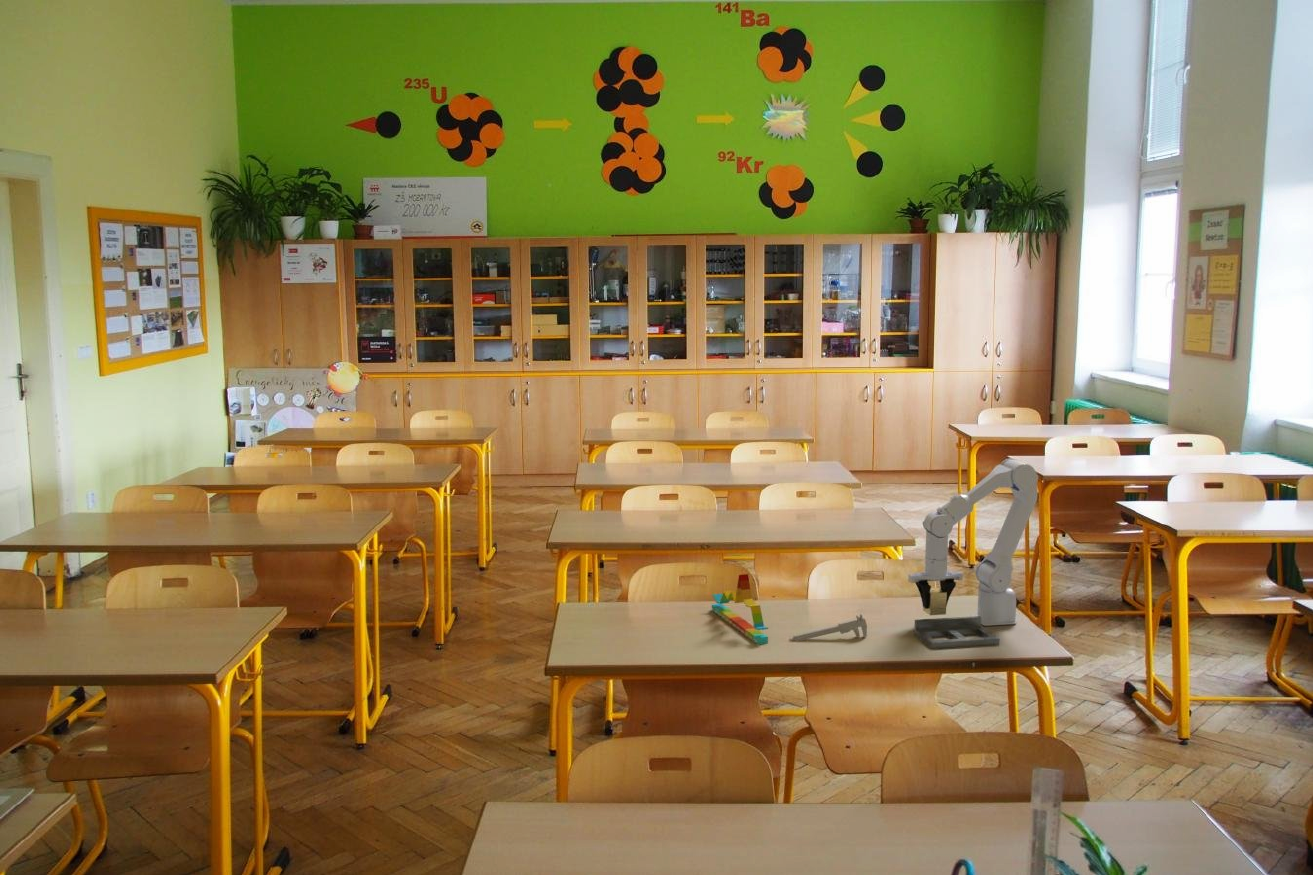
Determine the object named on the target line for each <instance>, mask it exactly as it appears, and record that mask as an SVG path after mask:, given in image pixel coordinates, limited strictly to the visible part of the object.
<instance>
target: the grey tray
mask: <svg viewBox="0 0 1313 875" xmlns="http://www.w3.org/2000/svg"><path fill="white" fill-rule="evenodd" d="M913 628H914V630H913V635H914V636H915V637H916V638H918V639H919V640H920V639H921V642H923V643H924V644H925V643H926V645H927V646H928V647H929V648H931V649H934V650H935V649H948V648H965V647H979V646H980V647H982V646H993V645H994V646H996V645H1000V638H999V637H997V636H996V635H994V634H993V633H992V632H990V631H988V630H987V629H985V628H984V627H982V624H981V617H980V616H972V617H971V616H959V617H941V618H940V617H939V618H923V619H921V618H920V619H914V627H913ZM973 635H977V636H979V637H965V636H973ZM942 637H948V638H949V639H948V638H947V639H937V640H936V639H934V638H942Z"/></svg>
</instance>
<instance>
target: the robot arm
mask: <svg viewBox="0 0 1313 875" xmlns="http://www.w3.org/2000/svg"><path fill="white" fill-rule="evenodd" d="M992 469H993V470H992V471H991V472H989V474H987V475H986V476H985V477H984V478H983V479H982V480H980V481H979V482H978V483H977V484H975V486H973V487H972V488H971V489H970V490H968V492H966V494H962V493H961V494H960V493H958V494H957V495H954V494H953V495H952V496H951V497H950V500H949V501H947V502H946V503H945V504H944V505H942V506H941V507H938V508H936V511H932V512H929V513H928V514H926V516H925V518H924V521H922V525H923V528H924V530H925V532H926V533H925V550H924V551H925V554H924V571H921V572H916V573H909V574H908V582H909V583H911V584H915V585H916V588H917V589H918V592H919V595H920V598H921V602H922V608H923V607H924V608H925V609H928V607H929V594H930V589H931V588H932V585H931V584H929V582H939V585H940V587H939V588H940V589H942V590H944V591H945V592H947V599H946V607H948V603H949V600H950V596H951V594H952V593H953V591H954V589H955V588H956V587H957V582H956V581H957V580H958V581H963V576H964V574H963V572H962V571H958V570H957V571H949V570H948V552H949V551H948V549H949V541H948V540H949V535H951V532H952V531H953V527H954V526H956V524H958V523H959V522H960V521H962V520H963V519H964V518H966V517H967V516H968V515H969V514H971V513H972V512H973V511H974V505H975V504H976V503H978V502H979V501H981V500H982V499H984V498H985V497H987V496H988V495H990V494H991V493H993V492H994V491H995V490H997V489H999V488H1009V489H1010V490H1011V493H1012V494H1013V496H1014V499H1013V501H1012V503H1011V505H1010V508H1009V510H1008V513H1007V515H1006V517H1005V520H1004V522H1003V524H1002V526H1001V528H1000V531H999V534H998V536H997V537H996V538H997V539H996V541H995V543H994V546H993V548H992V550H991V551H990V552H988V553H986V554H985V556H984V558H983V560H982V561H981V562H980V563H979V564H978V565H977V566H976V569H975V571H974V572H975V577H976V579H977V580H978V582H979V584H978V595H977V596H978V597H977V614H976V615H975V614H972V615H970V617H972V616H980V617H981V626H984V627H987V626H988V627H989V626H1002V625H1003V626H1006V625H1017V624H1018V623H1017V621H1016V616H1017V614H1016V611H1017V597H1016V592H1015V591H1014V589H1012V588H1010V586H1011V585H1012V584H1011V583H1012V573H1013V571H1014V565H1013V561H1012V559H1013V557H1014V554H1015V552H1016V549H1017V547H1018V544H1019V543H1020V541H1021V538H1022V536H1023V533H1024V531H1025V529H1026V526H1027V525H1028V522H1029V519H1030V517H1031V515H1032V513H1033V510H1034V508H1035V505H1036V503H1037V501H1038V480H1039V475H1038V473H1037V471H1036V470H1035V468H1034V467H1033V466H1032V465H1031V464H1029V463H1025V462H1022V461H1019V460H1017V459H1015V458H1006V459H1004V460H1003V461H1001V463H1000V464H997V465H996V466H995V467H994V468H992Z"/></svg>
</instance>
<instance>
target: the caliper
mask: <svg viewBox="0 0 1313 875" xmlns="http://www.w3.org/2000/svg"><path fill="white" fill-rule="evenodd" d="M855 618H856V619H851V620H847V621H842V622H839V623H838V625H837V624H836V625H831V626H829V627H824V628H820V629H815V630H811V631H806V632H802V633H797V634H793V637H790V638H789V639H788V641H790V642H793V641H794V642H799V640H801V641H805V640H810V639H813V638H817V637H822V636H826V635H830V634H834V633H839V632H840V634H841V635H844V634H847V633H849V632H851V631H853V632H854V634H855V636H856V638H858V639H859V638H861V636H860V631H859V627H861V631H862V635H863V638H866V637H867V635H868V634H867V633H868V626H867V621H866V618H865V617H863V614H861V613H860V614H859V616H858V615H855Z"/></svg>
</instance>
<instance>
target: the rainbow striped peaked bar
mask: <svg viewBox="0 0 1313 875" xmlns="http://www.w3.org/2000/svg"><path fill="white" fill-rule="evenodd" d="M737 579H738V580H737V586H736V590H725V591H724V590H723V593H714V594H712V597H713V599H714V601H715V604H714V603H713V604H711V611H712V612H713V611H714V612H713V613H715V614H716V613H717V614H716V615H718V616H719V617H720V616H721V617H720V618H721V619H723V620H724V621H725V622H727V623H728V624H729V625H730V626H732V625H733V626H732V627H734V628H735V629H736V630H738V631H739V632H741V633H742V634H743V635H744V636H746V638H748V639H750V640H751V641H752V642H753V643H755V644H757V645H763V644H768V643H769V636H768V635H766V634H765V633H763V632H762V631H763V630H768V629H769V627H768V626H765V625H764V620H763V615H762V614H763V613H762V609H761V604H757V603H756V602H755V600H754V599H753V598H752V592H751V584H750V578H749V574H748V573H744V574H739V575H738V578H737ZM730 601H733V602H734V604H738V603H744V604H745V606H746V608H750V611H751V616H752V622H753V625H752V624H751V623H749V622H748V621H747V620H746V619H745V618H744V619H743V618H742V617H741V616H739V615H738V614H737V613H735V612H734V611H733V610H731V609H730V608H728V607H727V606H726V605H724V604H729V603H730Z"/></svg>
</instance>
